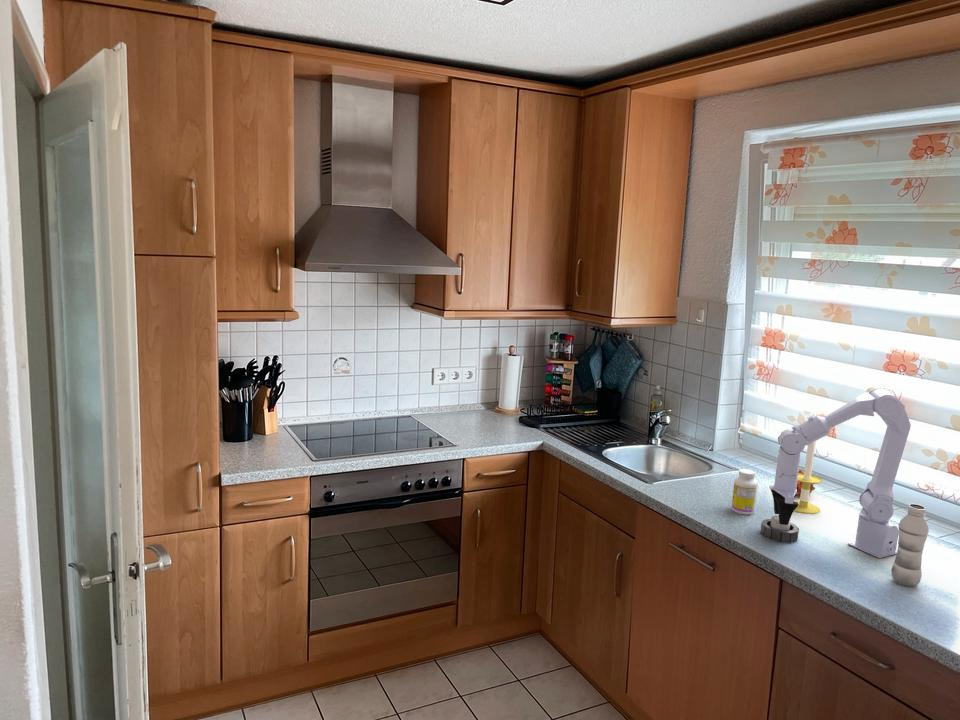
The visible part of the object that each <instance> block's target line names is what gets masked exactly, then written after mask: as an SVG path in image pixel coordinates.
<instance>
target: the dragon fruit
mask: <svg viewBox="0 0 960 720" xmlns="http://www.w3.org/2000/svg"><path fill="white" fill-rule="evenodd" d="M799 473H800V474H804V472H803V470H799V471H798V474H799ZM801 488H802V482H800V481H797V487H796V489H797V493H796V494H795V496H794V497H796V496H800V495H801ZM815 489H816V487H815V484H811V486H810V493H809V495H810V494H811V493H812V492H813V491H815Z"/></svg>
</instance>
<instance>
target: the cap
mask: <svg viewBox="0 0 960 720" xmlns="http://www.w3.org/2000/svg"><path fill="white" fill-rule="evenodd" d="M770 519H771V525H770V527H772V528H774V529H777V530H781V531H789V529H790V523H791V520H790V521H789V523H788V525H783V524H780V523H779V515H772V516H771V517H770Z"/></svg>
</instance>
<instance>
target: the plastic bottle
mask: <svg viewBox="0 0 960 720" xmlns="http://www.w3.org/2000/svg"><path fill="white" fill-rule="evenodd" d="M906 513H907V514H906V515H905V516H903V518H901V519H900V521H899V523H898V531H899V534H898V540H897V549H896V551H897V554H895V557H894V558H895V559H894V562H893V564H892V566H891V578H892V579H893V580H894V582H896V583H897V584H900V585H903V586H904V587H905V586H906V587H916V586H918V585H919V584H920V583H921V580H922V562H923V561H922V558H923V551H924V547H925V543H926V541H927V538H928V534H929V532H930V529H929V525H928V522H927V521H926V520H925V517H926V507H925V506H922V505H921V504H917V503H910V504H908V507H907V510H906Z"/></svg>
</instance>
